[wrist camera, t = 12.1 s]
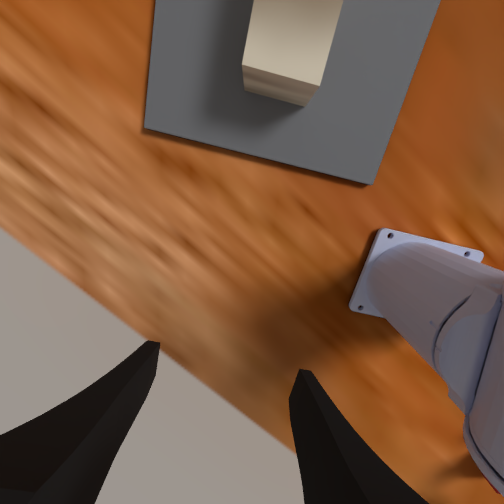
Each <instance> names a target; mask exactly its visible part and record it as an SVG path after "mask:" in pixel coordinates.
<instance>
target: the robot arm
mask: <svg viewBox="0 0 504 504" xmlns="http://www.w3.org/2000/svg"><path fill="white" fill-rule="evenodd" d="M389 233H391V236H390V237H389V238H388V237H387V236H388V234H389ZM465 252H466V254H465V255H464V253H465ZM483 256H484V255H483V252H481V251H478V250H474V249H470V248H466V247H462V246H458V245H454V244H450V243H445V242H441V241H437V240H433V239H429V238H425V237H421V236H416V235H412V234H408V233H404V232H400V231H396V230H392V229H388V228H381V229H379V230H378V232H377V234H376V237H375V239H374V242H373V244H372V247H371V249H370V252H369V255H368V257H367V260H366V262H365V265H364V267H363V270H362V272H361V275H360V277H359V280H358V282H357V285H356V287H355V290H354V292H353V295H352V297H351V300H350V302H349V308H350V309H351V310H352V311H354V312H359V313H364V314H368V315H373V316H377V317H382V318H385V319H386V320H387V321H388V322H389V323H390V324H391V325H392V326H393V327H394V328H395V329H396V330H397V331H398V332H399V333H400V334H401V335H402V337H403V338H404V339H405V340H406V341H407V342H408V343H409V344H410V345H411V346H412V347H413V348H414V349H415V350H416V351H417V352H418V353H419V354H420V355H421V356H422V358H423V359H424V360H425V361H426V362H427V363H428V364H429V365H430V366H431V367H432V368H433V369H434V370H435V371H436V372H437V373H438V374H439V375H440V376H441V377H442V378H443V380H444V381H445V382H446V383H447V385H448V389H449V393H448V396H449V397H450V399H451V400H452V401H453V402H454V403H455V404H456V405H457V406H458V407H459V409H460V410H461V411H462V412H463V413H464V414H465V415H466V416H465V419H464V423H463V436H464V440H465V443H466V446H467V449H468V451H469V453H470V455H471V457H472V458H473V460H474V461H475V463H476V464H477V466H478V467H479V469H480V470H481V472H482V473H483V474H484V475H485V477H486V478H487V479H488V480H489V482H490V483H491V484H492V485H493V486H494V487H495V488H496V489H497V490H498V491H499V492H500V493H501V494H502V495H503V497H504V272H503V271H501V270H498V269H495V268H493V267H490V266H487V265H484V264H482V263H480V262H481V260H482V259H483ZM360 305H362V307H361V308H358V307H359V306H360ZM159 349H160V343H159V342H154V341H149V340H148V341H146V342H145V343H144V344H143V345H142V346H140V347H139V348H138V349H137V350H136V351H135V352H133V353H132V354H131V355H130V356H129V357H127V358H126V359H125V360H124V361H122V362H121V363H120V364H119V365H117V366H116V367H115V368H114V369H113V370H111V371H110V372H108V373H107V374H106V375H104V376H103V377H101V378H100V379H99V380H97V381H96V382H95V383H93V384H92V385H90V386H89V387H87V388H86V389H84V390H83V391H81V392H80V393H78V394H77V395H75V396H73V397H72V398H70V399H68V400H67V401H65V402H63V403H61V404H60V405H58V406H56V407H54V408H53V409H51V410H49V411H47V412H46V413H44V414H42V415H40V416H38V417H36V418H34V419H32V420H30V421H28V422H26V423H24V424H22V425H20V426H18V427H16V428H14V429H13V430H10V431H8V432H6V433H4V434H2V435H0V504H95V502H96V499H97V497H98V495H99V492H100V490H101V487H102V485H103V483H104V481H105V478H106V476H107V474H108V471H109V469H110V467H111V465H112V462H113V460H114V458H115V456H116V454H117V452H118V450H119V448H120V446H121V444H122V442H123V441H124V439H125V437H126V435H127V433H128V431H129V429H130V427H131V426H132V424H133V422H134V420H135V418H136V416H137V414H138V412H139V410H140V409H141V407H142V405H143V403H144V401H145V399H146V397H147V395H148V393H149V390H150V388H151V385H152V383H153V380H154V378H155V376H156V369H157V362H158V355H159ZM289 410H290V421H291V427H292V432H293V437H294V443H295V448H296V453H297V458H298V463H299V468H300V474H301V480H302V486H303V494H304V503H305V504H429V503H428V502H427V501H425V500H424V499H423V498H422V497H421V496H420V495H419V494H417V493H416V492H415V491H414V490H413V489H412V488H411V487H409V486H408V485H407V484H406V483H405V482H404V481H403V480H402V479H401V478H400V477H399V476H398V475H397V474H395V473H394V472H393V471H392V470H391V469H390V468H389V467H388V466H387V465H386V464H385V463H384V462H383V461H382V460H381V459H380V458H379V457H378V456H377V455H376V453H375V452H374V451H373V450H372V449H371V448H370V447H369V446H368V445H367V444H366V443H365V441H364V440H363V439H362V438H361V437H360V436H359V435H358V433H357V432H356V431H355V430H354V429H353V427H352V426H351V425H350V424H349V422H348V421H347V420H346V419H345V418H344V416H343V415H342V414H341V412H340V411H339V410H338V408H337V407H336V406H335V404H334V403H333V402H332V400H331V399H330V397H329V396H328V395H327V393H326V392H325V390H324V389H323V387H322V386H321V385H320V383H319V382H318V380H317V379H316V377H315V376H314V374H313V373H312V372H311V371H309V370H304V369H299V372H298V374H297V377H296V380H295V383H294V386H293V388H292V391H291V394H290V397H289Z"/></svg>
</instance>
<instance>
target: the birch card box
mask: <svg viewBox="0 0 504 504" xmlns="http://www.w3.org/2000/svg"><path fill="white" fill-rule="evenodd" d="M342 4H343V0H254V3H253V8H252V13H251V18H250V24H249V29H248V34H247V40H246V45H245V50H244V56H243V61H242V71H243V81H244V91H248V92H252V93H256V94H259V95H263V96H267V97H270V98H274V99H278V100H282V101H285V102H289V103H293V104H296V105H300V106H304V107H305V106H306V105H307V103H308V102H309V101H310V99H311V98H312V96H313V95H314V94H315V92H316V91H317V89H318V88H319V87H320V84H321V80H322V76H323V73H324V69H325V65H326V62H327V58H328V55H329V51H330V47H331V44H332V40H333V36H334V33H335V29H336V26H337V22H338V18H339V15H340V11H341V7H342Z"/></svg>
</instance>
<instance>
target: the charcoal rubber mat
mask: <svg viewBox="0 0 504 504" xmlns="http://www.w3.org/2000/svg"><path fill="white" fill-rule="evenodd" d="M253 3H254V0H156V4H155V14H154V25H153V36H152V47H151V58H150V68H149V79H148V90H147V101H146V111H145V122H144V128H146V129H149V130H153V131H157V132H161V133H165V134H169V135H173V136H177V137H181V138H185V139H189V140H193V141H197V142H201V143H205V144H209V145H213V146H217V147H221V148H225V149H229V150H233V151H236V152H240V153H244V154H248V155H252V156H256V157H260V158H264V159H268V160H272V161H276V162H280V163H284V164H288V165H292V166H296V167H300V168H304V169H308V170H312V171H316V172H320V173H324V174H328V175H332V176H336V177H340V178H343V179H347V180H351V181H355V182H359V183H363V184H367V185H373V182H374V180H375V177H376V174H377V171H378V169H379V166H380V163H381V161H382V158H383V155H384V152H385V150H386V147H387V144H388V142H389V139H390V136H391V133H392V131H393V128H394V125H395V123H396V120H397V117H398V114H399V112H400V109H401V106H402V104H403V101H404V98H405V95H406V93H407V90H408V87H409V85H410V82H411V79H412V76H413V74H414V71H415V68H416V66H417V63H418V60H419V57H420V55H421V52H422V49H423V47H424V44H425V41H426V38H427V36H428V33H429V30H430V28H431V25H432V22H433V19H434V17H435V14H436V11H437V9H438V6H439V3H440V0H343V4H342V7H341V11H340V15H339V18H338V22H337V26H336V29H335V33H334V36H333V40H332V44H331V47H330V51H329V55H328V58H327V62H326V65H325V69H324V73H323V76H322V80H321V84H320V87H319V88H318V89H317V91H316V92H315V94H314V95H313V96H312V98H311V99H310V101H309V102H308V103H307V105H306V106H305V107H304V106H300V105H296V104H293V103H289V102H285V101H282V100H278V99H274V98H270V97H267V96H263V95H259V94H256V93H252V92H248V91H244V81H243V71H242V61H243V56H244V50H245V45H246V40H247V34H248V29H249V24H250V18H251V13H252V8H253Z"/></svg>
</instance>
